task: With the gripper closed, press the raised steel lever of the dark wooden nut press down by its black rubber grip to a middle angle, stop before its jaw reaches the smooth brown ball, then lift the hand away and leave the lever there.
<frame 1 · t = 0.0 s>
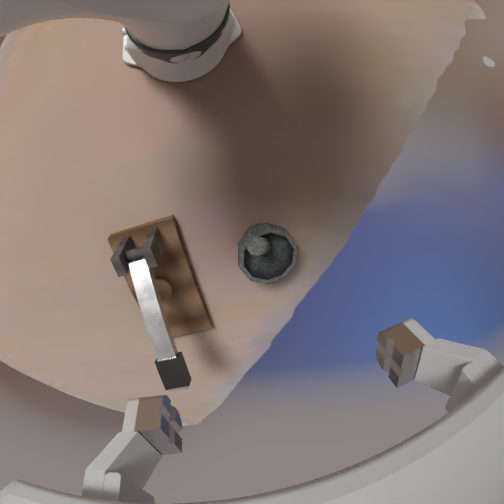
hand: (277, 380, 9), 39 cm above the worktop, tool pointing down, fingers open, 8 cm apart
lever: (158, 327, 39), point 12 cm above the worktop, hinge at 28.0°
smooth brown ball: (161, 278, 50), resting on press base
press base: (163, 282, 50), on the worktop
mortar and pestle: (257, 236, 50), on the worktop
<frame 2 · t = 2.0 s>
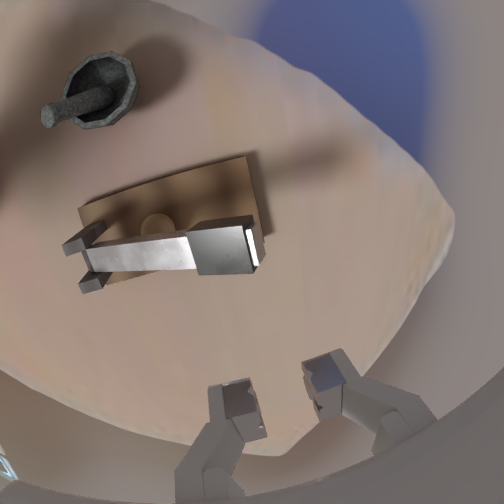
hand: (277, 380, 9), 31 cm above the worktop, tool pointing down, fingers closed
lever: (157, 251, 26), point 12 cm above the worktop, hinge at 28.0°
smooth brown ball: (162, 222, 37), resting on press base
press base: (169, 220, 37), on the worktop
mortar and pestle: (110, 101, 30), on the worktop
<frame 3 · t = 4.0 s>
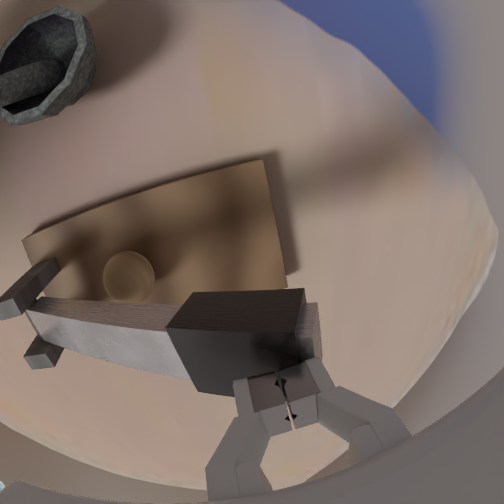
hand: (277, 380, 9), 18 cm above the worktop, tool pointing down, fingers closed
lever: (121, 334, 14), point 12 cm above the worktop, hinge at 26.5°, touching gripper
smooth brown ball: (138, 259, 25), resting on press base
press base: (147, 256, 25), on the worktop
mortar and pestle: (62, 83, 17), on the worktop
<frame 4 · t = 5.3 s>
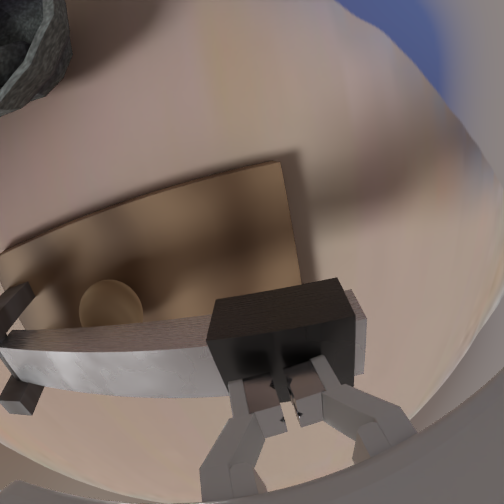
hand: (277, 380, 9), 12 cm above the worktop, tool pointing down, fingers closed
lever: (126, 361, 11), point 9 cm above the worktop, hinge at 11.9°, touching gripper
smooth brown ball: (124, 284, 20), resting on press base
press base: (135, 281, 20), on the worktop
mortar and pestle: (35, 72, 12), on the worktop
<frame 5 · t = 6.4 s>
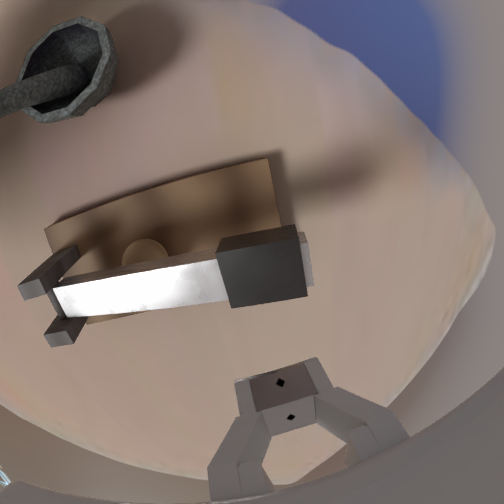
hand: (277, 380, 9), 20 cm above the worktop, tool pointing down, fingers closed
lever: (160, 283, 19), point 9 cm above the worktop, hinge at 11.8°
smooth brown ball: (153, 247, 28), resting on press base
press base: (162, 245, 28), on the worktop
mortar and pestle: (84, 86, 21), on the worktop
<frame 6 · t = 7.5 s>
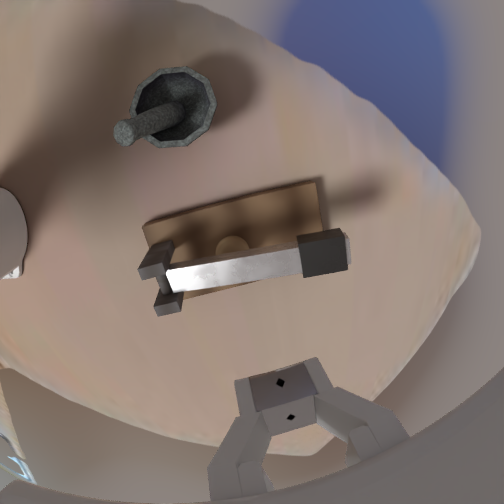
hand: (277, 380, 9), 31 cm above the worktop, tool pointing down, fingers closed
lever: (256, 264, 31), point 9 cm above the worktop, hinge at 11.8°
smooth brown ball: (230, 242, 40), resting on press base
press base: (237, 240, 40), on the worktop
mortar and pestle: (175, 117, 33), on the worktop
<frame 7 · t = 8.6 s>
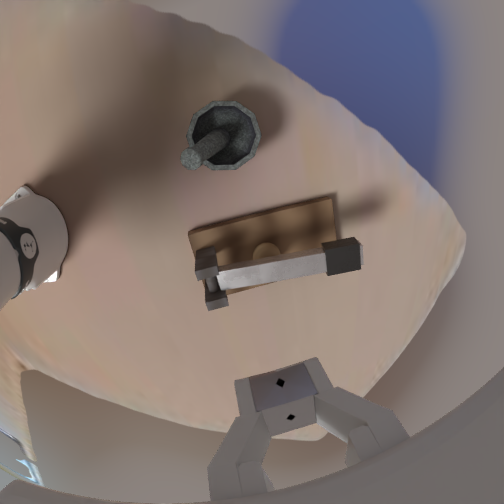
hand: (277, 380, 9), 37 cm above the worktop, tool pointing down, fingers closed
lever: (290, 265, 39), point 9 cm above the worktop, hinge at 11.8°
smooth brown ball: (261, 247, 48), resting on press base
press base: (267, 246, 48), on the worktop
mortar and pestle: (217, 140, 40), on the worktop
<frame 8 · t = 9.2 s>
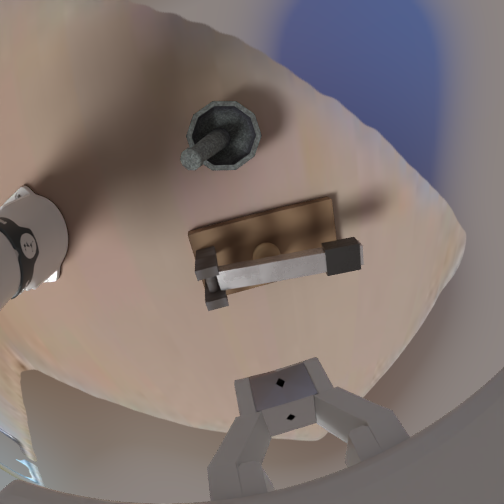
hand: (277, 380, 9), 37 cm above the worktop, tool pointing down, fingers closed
lever: (290, 265, 39), point 9 cm above the worktop, hinge at 11.8°
smooth brown ball: (261, 247, 48), resting on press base
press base: (267, 246, 48), on the worktop
mortar and pestle: (217, 140, 40), on the worktop
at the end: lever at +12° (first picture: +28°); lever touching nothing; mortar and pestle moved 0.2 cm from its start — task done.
